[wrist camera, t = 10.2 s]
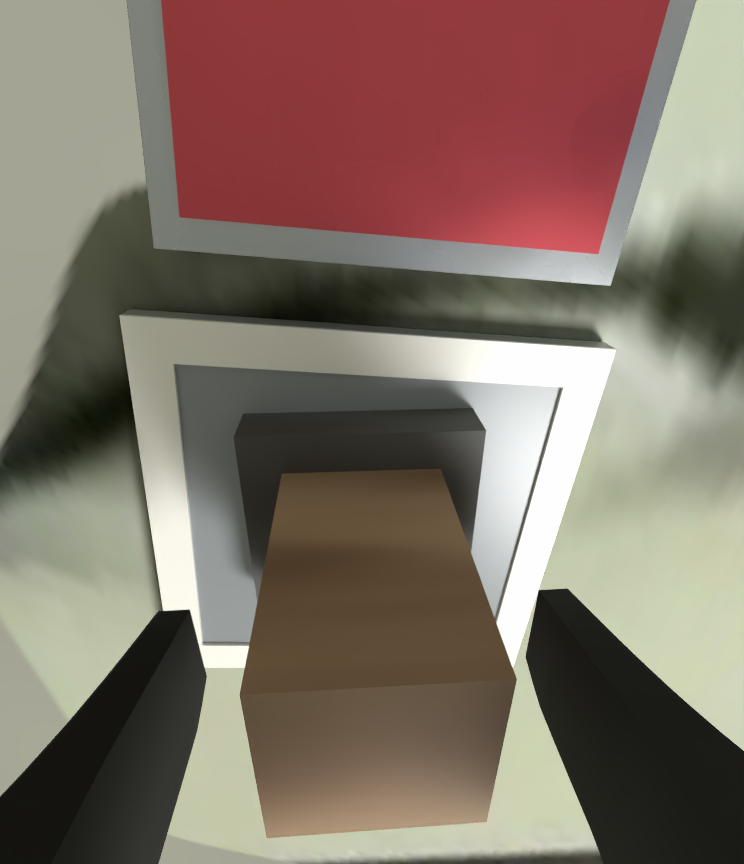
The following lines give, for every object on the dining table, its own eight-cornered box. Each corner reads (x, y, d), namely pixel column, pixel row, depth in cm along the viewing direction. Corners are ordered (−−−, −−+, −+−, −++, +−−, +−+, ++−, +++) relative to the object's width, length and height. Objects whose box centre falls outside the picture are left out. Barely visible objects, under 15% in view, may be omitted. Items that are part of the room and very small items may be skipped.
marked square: (507, 652, 17) (512, 668, 16) (177, 651, 16) (171, 667, 15) (603, 341, 12) (616, 349, 11) (129, 308, 11) (119, 315, 10)
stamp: (454, 578, 14) (534, 845, 9) (265, 586, 14) (215, 870, 8) (473, 408, 12) (602, 624, 6) (242, 413, 11) (148, 648, 6)
